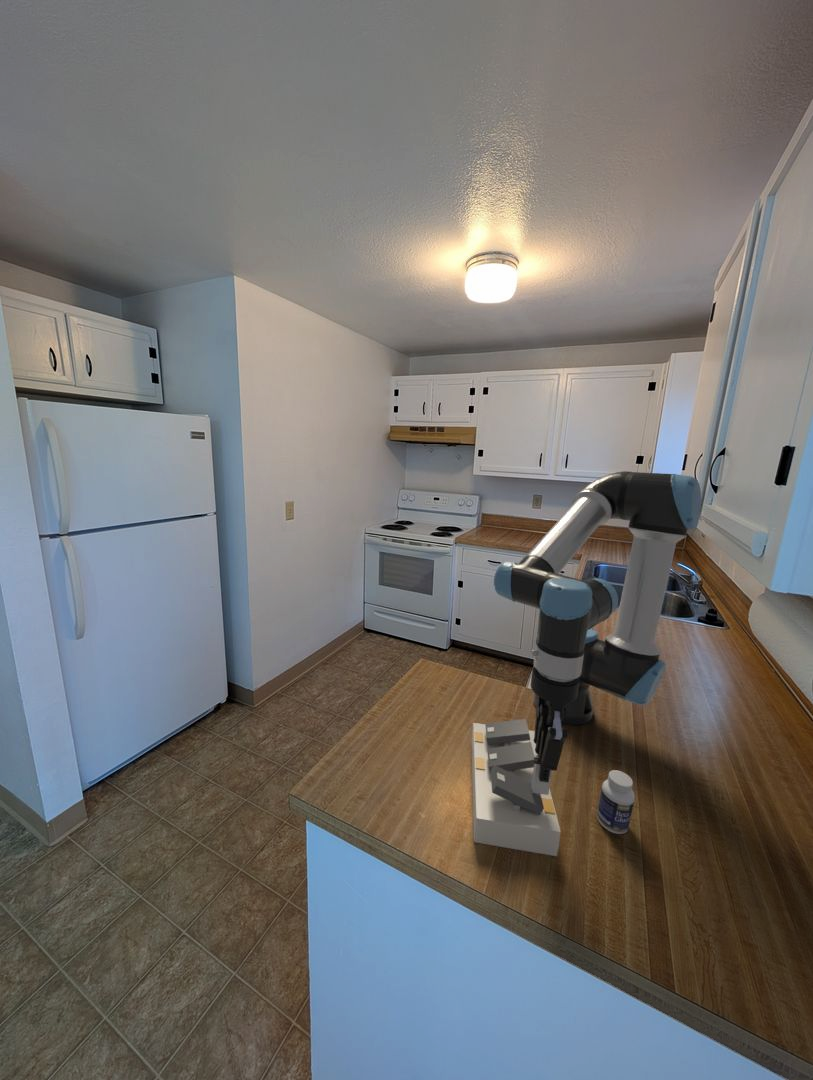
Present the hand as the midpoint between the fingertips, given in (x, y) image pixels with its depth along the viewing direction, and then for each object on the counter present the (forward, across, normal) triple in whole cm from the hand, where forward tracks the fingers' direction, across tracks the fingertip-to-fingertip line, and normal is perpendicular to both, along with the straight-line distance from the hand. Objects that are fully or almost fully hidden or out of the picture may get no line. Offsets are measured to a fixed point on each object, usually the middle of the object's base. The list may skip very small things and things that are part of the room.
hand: (539, 790), depth 73 cm
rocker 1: (0, -16, -4) cm, 16 cm away
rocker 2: (0, -8, -4) cm, 9 cm away
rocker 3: (0, 0, -4) cm, 4 cm away
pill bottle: (+8, -4, +15) cm, 17 cm away
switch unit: (+8, -8, -4) cm, 12 cm away
